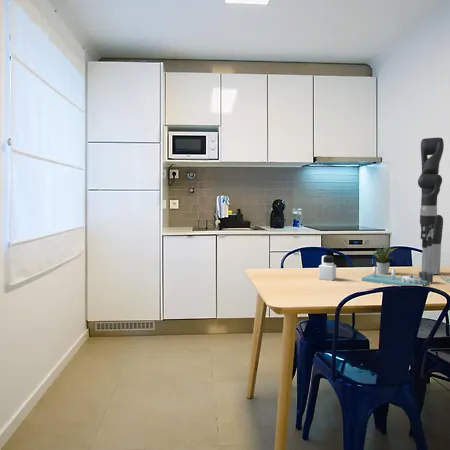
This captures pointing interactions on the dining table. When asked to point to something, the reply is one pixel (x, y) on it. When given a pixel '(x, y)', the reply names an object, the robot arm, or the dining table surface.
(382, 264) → the house plant
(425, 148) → the robot arm
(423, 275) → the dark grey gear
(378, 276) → the gear board
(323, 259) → the medicine bottle
